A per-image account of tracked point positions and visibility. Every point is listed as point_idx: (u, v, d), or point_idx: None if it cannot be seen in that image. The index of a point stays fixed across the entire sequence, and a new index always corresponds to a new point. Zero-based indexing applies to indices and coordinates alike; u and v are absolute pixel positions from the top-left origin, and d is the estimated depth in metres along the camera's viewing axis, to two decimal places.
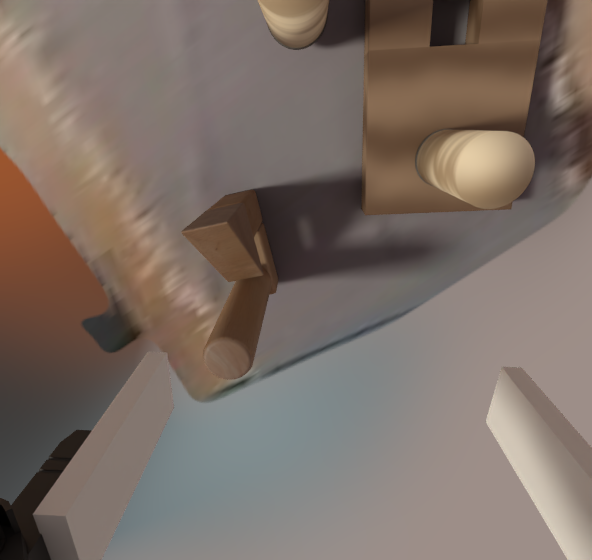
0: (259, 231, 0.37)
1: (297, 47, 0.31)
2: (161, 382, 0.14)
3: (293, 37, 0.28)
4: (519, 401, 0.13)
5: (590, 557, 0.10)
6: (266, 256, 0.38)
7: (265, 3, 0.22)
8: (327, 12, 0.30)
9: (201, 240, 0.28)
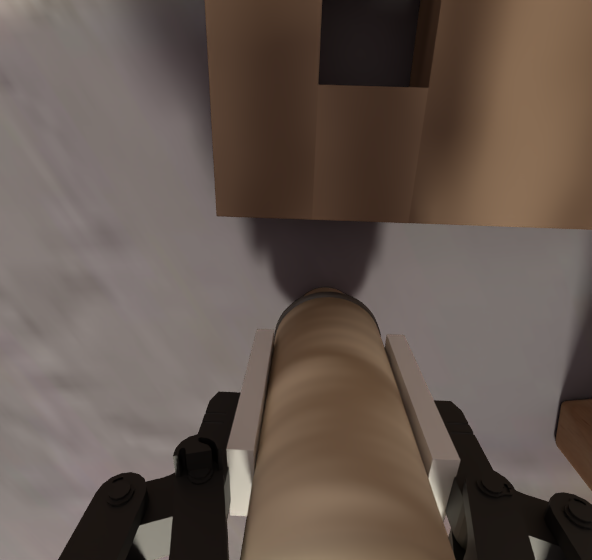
0: None
1: None
2: (272, 355, 0.16)
3: None
4: (392, 361, 0.15)
5: None
6: None
7: None
8: (333, 296, 0.17)
9: None
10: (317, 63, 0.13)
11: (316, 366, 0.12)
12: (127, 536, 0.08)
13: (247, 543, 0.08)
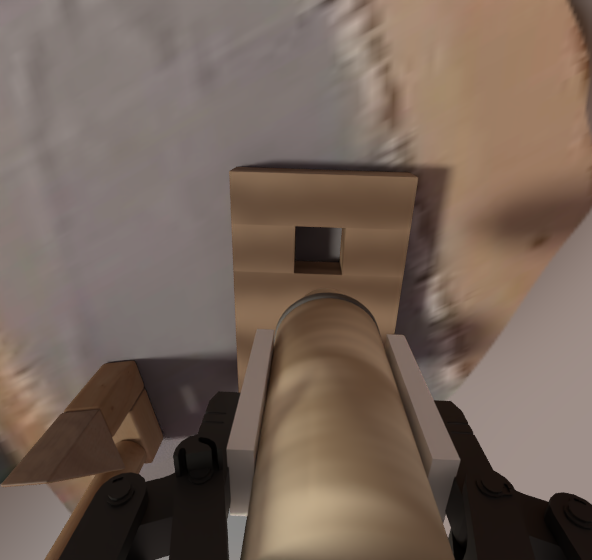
0: (132, 411, 0.37)
1: None
2: (272, 355, 0.16)
3: None
4: (392, 362, 0.15)
5: None
6: (140, 431, 0.38)
7: None
8: (333, 297, 0.17)
9: None
10: (303, 225, 0.29)
11: (316, 367, 0.12)
12: (127, 536, 0.08)
13: (247, 545, 0.08)
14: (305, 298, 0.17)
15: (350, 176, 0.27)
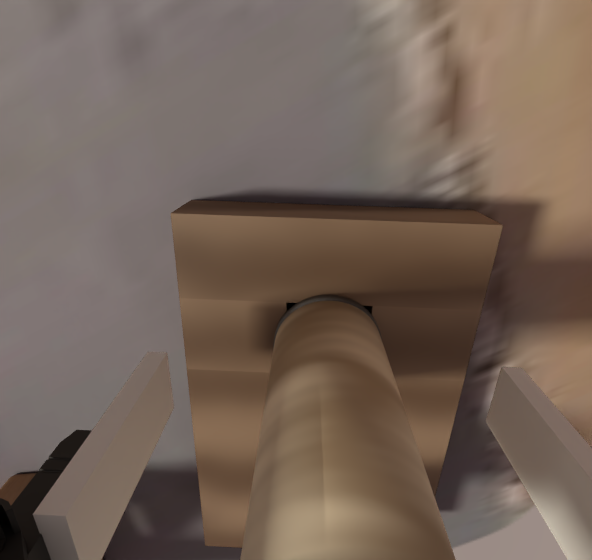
0: None
1: None
2: (161, 382, 0.14)
3: None
4: (519, 401, 0.13)
5: (590, 557, 0.10)
6: None
7: None
8: (334, 299, 0.16)
9: None
10: None
11: (316, 372, 0.12)
12: None
13: (245, 558, 0.08)
14: (305, 300, 0.17)
15: (383, 222, 0.16)
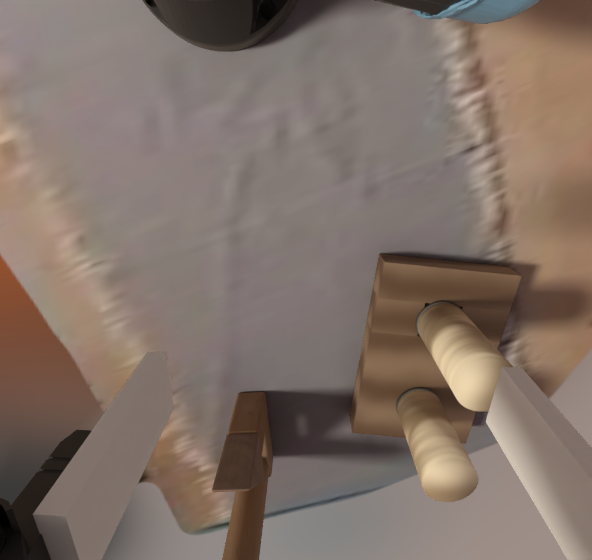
0: (265, 433, 0.45)
1: None
2: (161, 382, 0.14)
3: None
4: (519, 401, 0.13)
5: (590, 557, 0.10)
6: (267, 451, 0.46)
7: None
8: (448, 302, 0.38)
9: None
10: None
11: (458, 326, 0.33)
12: None
13: (458, 368, 0.29)
14: (435, 302, 0.39)
15: (472, 271, 0.38)
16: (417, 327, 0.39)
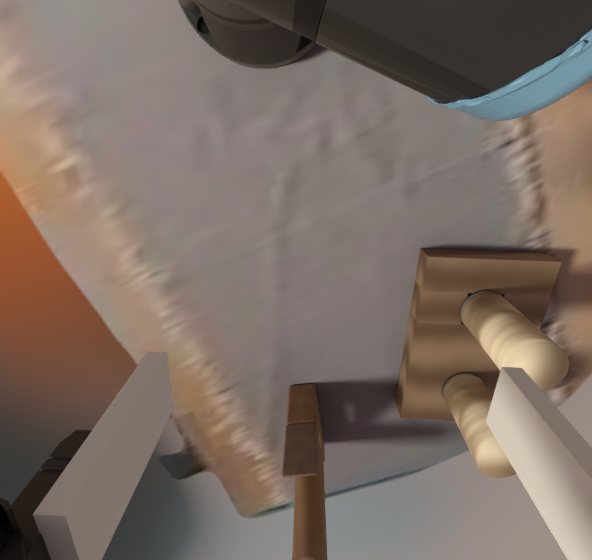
0: (318, 422, 0.48)
1: None
2: (161, 382, 0.14)
3: None
4: (520, 401, 0.13)
5: (590, 557, 0.10)
6: (320, 438, 0.49)
7: (554, 384, 0.32)
8: (491, 291, 0.40)
9: None
10: None
11: (505, 314, 0.35)
12: None
13: (510, 354, 0.32)
14: (477, 292, 0.40)
15: (513, 260, 0.39)
16: (461, 316, 0.41)
